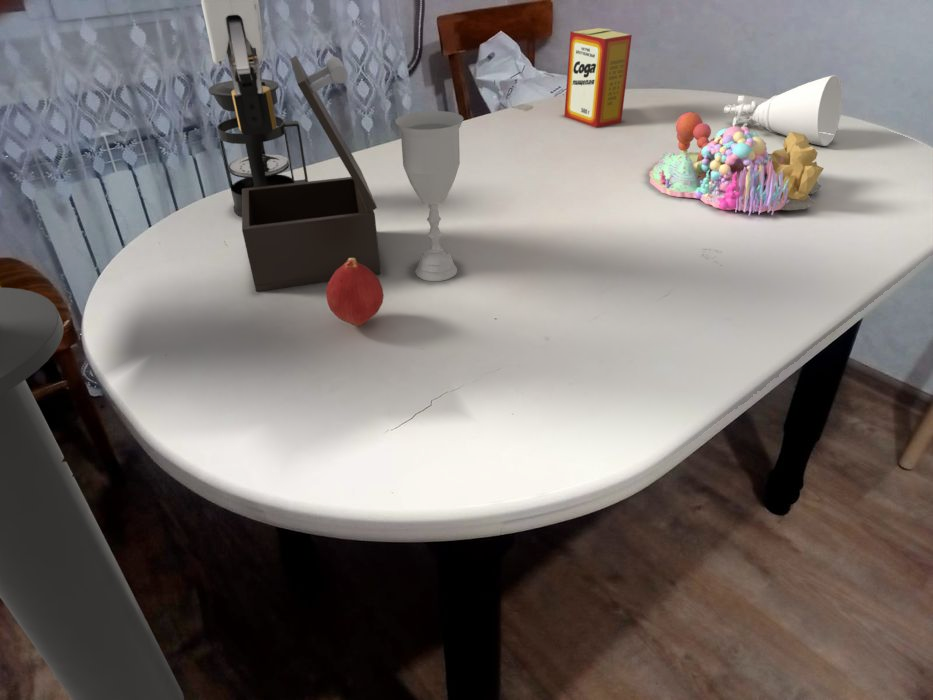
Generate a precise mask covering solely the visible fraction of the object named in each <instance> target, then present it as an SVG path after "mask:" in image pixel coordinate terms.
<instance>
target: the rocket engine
mask: <svg viewBox="0 0 933 700" xmlns="http://www.w3.org/2000/svg"><path fill="white" fill-rule="evenodd" d="M842 87H843V86H842V82H841V80H840V77H838V76H837V74H832V75H829V76H824V77H822V78H818V79H815V80H812V81H809V82H807V83H804V84H800V85H799V86H796V87H793V88H791V89H789V90H786V91H784V92H782V93H779V94H778V95H777V94H776V95H773V96H771V97H770V98H768V99H767V100H765V101H762V102H761V103H760V104H758V105H757V101H756V100H752V101H751V104H750V103H749V100H748V98H747V97H746V95H738V96H737V97H738V98H737V99H736V101H737V104H738V105H736V104H735V103H733V104H732V105H730V104H729V103H728V104H727V105H726V106H724V108H723V113H724V114H735V116H734V117H733V121H732V123H731V125H732V126H738V125H741V124H743V125H742V126H741V127H740V128H743V127H748V125H751V126H754V125H756V124H758V125H759V126H761V127H764V128H765V129H767V130H768V131H769V132H770V133H774V132H775V133H778V134H780V135H782V136H785V137H787V136H788V135H789V134H790V132H795V133H800V134H804V135H805V136H806V137H807V139H808V142H809V144H812V145H816V146H822V147H827V146H829V145H830V144H831V143H832V141H833V139H834V138H835V135H836V133H837V131H838V128H839V124H840V119H841V115H842V109H843V88H842ZM819 132H826V133H831V134H835V135H828V134H823V133H819Z"/></svg>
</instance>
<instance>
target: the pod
mask: <svg viewBox="0 0 933 700" xmlns="http://www.w3.org/2000/svg"><path fill="white" fill-rule="evenodd" d="M256 86H257V85H256ZM262 88H263V93H265V92H266V96H267V101H268V107H269V112H270V117H271V123H272V129H275V128H277V127H278V126H277V124H276V119H275V116H276V113H275V108H274V105H273V102H272V97H271V91H270V88H269V87H267V86H262ZM231 93H232V97H233V102H234V107H235V111H234V112H235V115H236V117H237V121H238V125H239V127H238V129H239V131H240V132H242V131H241V127H240V122H239V117H238V113H237V108H236V103H235V99H234V95H236V94H235V89H234V90H232V92H231Z"/></svg>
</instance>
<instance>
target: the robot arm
mask: <svg viewBox="0 0 933 700" xmlns="http://www.w3.org/2000/svg"><path fill="white" fill-rule="evenodd" d="M200 3H201V8H202V14H203V17H204V18H203V19H204V22H205V27H206V32H207V36H208V41H209V48H210V52H211V57H212V62H213V63H214V64H215V65H216V66H218V67H221V66H222V62H226V60H228V66H229V69H230V74H231V80H233V84H234V89H235V94H236V95H234V99H235V103H236V108H237V113H238V117H239V122H240V127H241V131H240V132H241V134H244V135H252V134H263V133H271V132H272V130H273V129H272V123H271V117H270V112H269V107H268V101H267V96H266V92H265V93H263V88H262V86H265V82H261V81H262V79H263V78H262V73H261V68H260V63H261V62H262V61H263V60H264V42H263V41H264V39H263V27H262V18H261V10H260V4H259V0H200ZM256 85H257V86H256Z"/></svg>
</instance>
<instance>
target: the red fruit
mask: <svg viewBox="0 0 933 700" xmlns="http://www.w3.org/2000/svg"><path fill="white" fill-rule="evenodd" d="M327 282H328V283H327V285H326V290H325V296H326V302H327V305H328V308H329V310H330V311H331V312H332V313H333V314H334V316H336V317H337V318H338V319H339V320H341V321H343V322H346V323H349V324H351V325H353V326H354V327H362V326H364V325H365V324H366V322H368V321H370V320H371V318H373V317H374V316H375V315H376V314H377V313H378V311H379V310H380V309H381V306H382V305H383V303H384V297H385V296H384V290H383V287H382V286H383V285H382V283H381V281H380V278H379V277H378V276H377V274H376V275H375V274H374V273H373V272H372V271H371V270H370V269H369V268H367V267H366V266H364V265H362V264H359V263H357V261H356V259H355V258H349V259H348V260H347V262H346V263H345V264H344V265H342V266H341V267H340V268H338V269H337V270H336V271H335V272H334V274H333V276H332V277H331V279H330V281H327Z"/></svg>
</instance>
